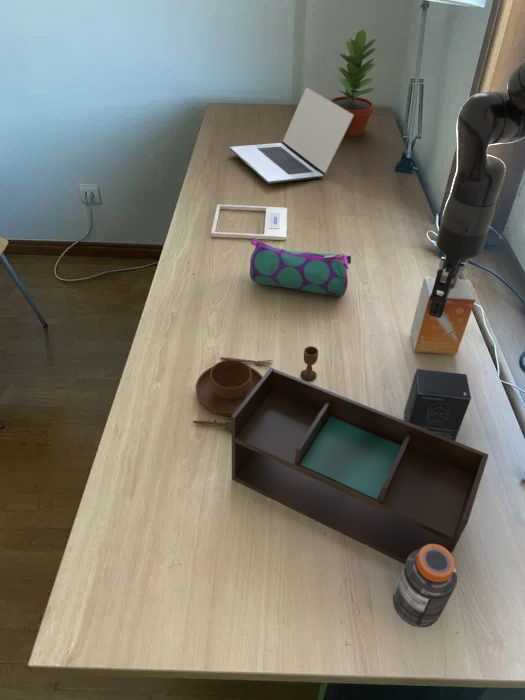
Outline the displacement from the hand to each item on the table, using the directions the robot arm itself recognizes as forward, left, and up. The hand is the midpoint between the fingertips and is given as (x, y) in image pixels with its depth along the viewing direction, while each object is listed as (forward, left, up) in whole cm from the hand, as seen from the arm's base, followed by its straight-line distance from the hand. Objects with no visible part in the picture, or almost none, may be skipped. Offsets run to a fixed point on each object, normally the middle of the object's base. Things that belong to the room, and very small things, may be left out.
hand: (441, 303), depth 101 cm
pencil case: (+30, -4, -10) cm, 32 cm away
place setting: (+22, +29, -10) cm, 38 cm away
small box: (-1, 0, -10) cm, 10 cm away
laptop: (+61, -58, -9) cm, 85 cm away
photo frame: (+52, -22, -10) cm, 57 cm away
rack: (+1, +40, -10) cm, 41 cm away
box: (-6, +21, -10) cm, 24 cm away
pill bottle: (-13, +50, -10) cm, 53 cm away
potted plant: (+55, -94, -10) cm, 109 cm away
